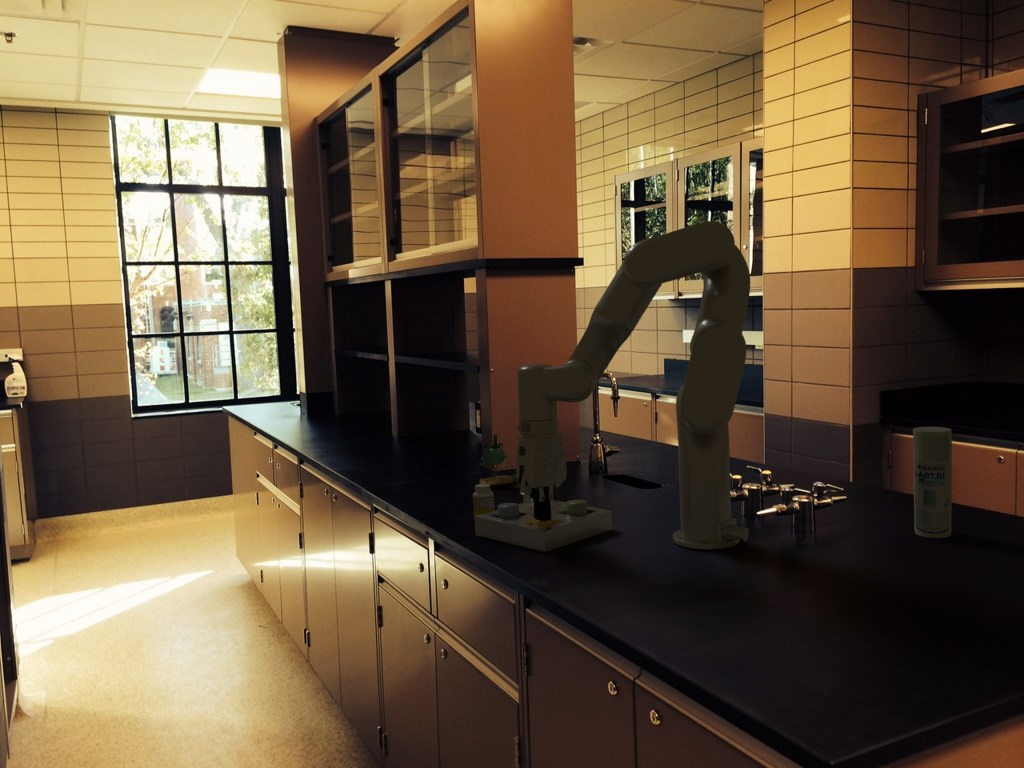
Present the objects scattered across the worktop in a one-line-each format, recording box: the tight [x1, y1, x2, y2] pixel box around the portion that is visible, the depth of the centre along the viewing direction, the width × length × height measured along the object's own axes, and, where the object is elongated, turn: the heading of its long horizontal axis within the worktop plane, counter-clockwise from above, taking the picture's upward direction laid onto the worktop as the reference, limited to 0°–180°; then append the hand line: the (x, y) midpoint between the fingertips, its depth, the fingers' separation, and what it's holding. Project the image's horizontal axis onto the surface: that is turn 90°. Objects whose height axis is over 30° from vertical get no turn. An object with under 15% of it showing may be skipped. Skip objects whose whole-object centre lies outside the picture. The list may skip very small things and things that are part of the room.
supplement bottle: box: [472, 483, 496, 522], centre depth 180 cm, size 5×5×8 cm
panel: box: [473, 500, 613, 553], centre depth 170 cm, size 20×20×4 cm
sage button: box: [565, 499, 588, 517], centre depth 170 cm, size 4×4×4 cm
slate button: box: [497, 502, 520, 520], centre depth 170 cm, size 4×4×4 cm
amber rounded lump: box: [532, 517, 555, 528], centre depth 163 cm, size 4×4×4 cm
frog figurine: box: [478, 433, 520, 489], centre depth 220 cm, size 10×18×15 cm, turn 30°
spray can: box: [912, 426, 953, 539], centre depth 155 cm, size 6×6×20 cm
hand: (542, 519), depth 163 cm, fingers closed
